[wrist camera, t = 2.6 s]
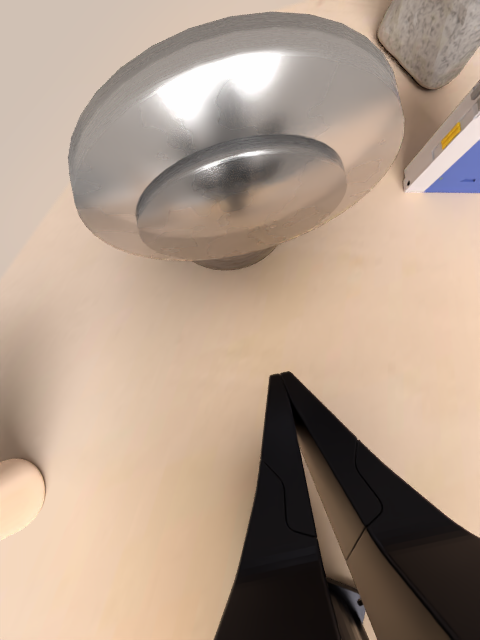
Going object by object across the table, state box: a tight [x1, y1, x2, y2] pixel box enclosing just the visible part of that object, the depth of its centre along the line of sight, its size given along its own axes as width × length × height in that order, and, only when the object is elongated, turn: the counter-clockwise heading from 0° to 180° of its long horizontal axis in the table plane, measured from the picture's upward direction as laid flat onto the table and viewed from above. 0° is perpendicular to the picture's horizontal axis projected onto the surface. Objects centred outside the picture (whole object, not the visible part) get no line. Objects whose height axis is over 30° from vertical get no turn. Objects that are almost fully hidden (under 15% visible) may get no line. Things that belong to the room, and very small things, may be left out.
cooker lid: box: [68, 12, 405, 261], centre depth 12 cm, size 14×14×2 cm
